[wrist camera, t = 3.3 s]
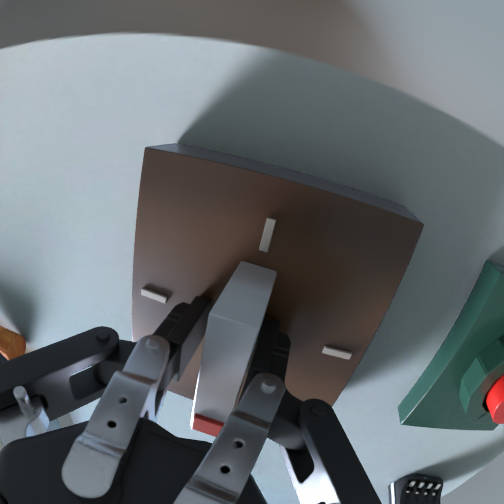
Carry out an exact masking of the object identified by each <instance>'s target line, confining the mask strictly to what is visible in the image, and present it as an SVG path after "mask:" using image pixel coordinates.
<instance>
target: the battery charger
mask: <svg viewBox="0 0 504 504" xmlns="http://www.w3.org/2000/svg"><path fill="white" fill-rule="evenodd" d="M442 488H443V479H441V478H438V477H431V476H423V475H408V476H405V477H403V478H401V479H399V480H397V481H394V482H392V483H391V484H390V485H389V487H388V489H389V504H440V497H441V492H442Z"/></svg>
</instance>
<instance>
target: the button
mask: <svg viewBox="0 0 504 504" xmlns="http://www.w3.org/2000/svg"><path fill="white" fill-rule="evenodd" d="M485 401H486V404H487V406H488V409H489V411H490V414H491V416H492V419H493V421H494V422H495V423H497V424H503V423H504V375H502V376H501V377H500V378H498V379H497V380H496V381H495V382H494V384H493V385H492V386H491V388H490V389H489V390H488V391H487V393H486V396H485Z"/></svg>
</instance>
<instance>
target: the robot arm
mask: <svg viewBox="0 0 504 504" xmlns="http://www.w3.org/2000/svg"><path fill="white" fill-rule="evenodd" d="M211 303H212V301H211V300H209V299H206V298H203V297H200V296H196V297H195V298H194V299H193V301H192V302H191V304H188V303H185V302H182V303H180V304H178V305H176V306H175V307H174V308H173V309H172V310H171V312H170V313H169V314H168V315H167V317H166V318H165V319H164V320H163V322H162V323H161V324H160V325H159V327H158V328H157V329H156V331H155V332H154V333H153V334H152V335H146V336H143V337H141V338H140V339H139V340H138V342H131V341H125V340H119V336H118V333H117V332H116V331H115V330H113V329H112V328H109V327H103V326H102V327H96V328H93V329H90V330H88V331H85V332H83V333H80V334H77V335H75V336H72V337H69V338H67V339H64V340H62V341H59V342H56V343H54V344H51V345H48V346H46V347H43V348H40V349H38V350H35V351H32V352H30V353H27V354H24V355H21V356H19V357H16V358H13V359H11V360H8V361H5V362H2V363H0V440H1V443H2V445H3V447H4V448H3V449H2V450H1V452H0V504H267V502H266V500H265V499H264V497H263V495H262V493H261V491H260V489H259V488H258V486H257V484H256V482H255V480H254V478H253V477H252V475H251V471H252V469H253V467H254V465H255V463H256V461H257V458H258V456H259V454H260V452H261V450H262V447H263V445H264V443H265V440H266V438H269V439H271V440H273V441H274V442H276V443H278V444H279V447H280V450H281V453H282V456H283V458H284V461H285V464H286V467H287V469H288V472H289V475H290V478H291V480H292V483H293V486H294V488H295V491H296V494H297V496H298V499H299V502H300V504H382V503H381V501H380V499H379V497H378V496H377V494H376V492H375V490H374V488H373V486H372V484H371V482H370V480H369V478H368V476H367V474H366V472H365V470H364V468H363V467H362V465H361V463H360V461H359V459H358V457H357V455H356V453H355V451H354V449H353V447H352V445H351V443H350V441H349V439H348V438H347V436H346V434H345V432H344V430H343V428H342V426H341V424H340V422H339V420H338V418H337V416H336V414H335V412H334V410H333V409H332V407H331V406H330V405H329V404H328V403H327V402H325V401H323V400H320V399H315V398H312V399H308V400H305V401H302V400H300V399H298V398H296V397H294V396H293V395H292V394H291V393H290V392H289V391H288V390H287V388H286V386H285V376H286V370H287V365H288V359H289V353H290V347H291V341H290V339H289V336H288V335H287V334H283V333H280V332H278V329H279V325H280V321H276V320H273V319H270V318H266V317H265V320H264V324H263V327H262V330H261V333H260V336H259V340H258V343H257V346H256V349H255V352H254V355H253V359H252V362H251V365H250V368H249V371H248V374H247V377H246V380H245V383H244V387H243V390H242V393H241V396H240V399H239V402H238V405H237V407H236V408H235V410H234V411H232V412H231V413H230V415H229V417H228V418H227V420H226V422H225V424H224V425H223V427H222V429H221V430H220V432H219V434H218V435H217V437H216V439H215V440H214V442H213V444H212V443H209V442H206V441H199V440H192V439H185V438H179V437H176V436H174V435H173V434H171V433H170V432H168V431H167V430H165V429H164V428H162V427H161V426H159V425H158V424H157V423H156V421H157V418H158V415H159V412H160V410H161V407H162V404H163V401H164V398H165V395H166V392H167V387H168V385H169V383H170V382H171V380H173V381H176V382H179V380H180V378H181V376H182V375H183V373H184V371H185V369H186V367H187V366H188V364H189V362H190V360H191V358H192V357H193V355H194V353H195V351H196V350H197V348H198V346H199V344H200V342H201V341H202V339H203V337H204V335H205V332H206V328H207V322H208V317H209V313H210V309H211ZM89 366H92V367H91V368H88V369H86V370H84V371H81V372H79V373H77V374H75V375H72V374H73V373H75V372H78V371H80V370H82V369H85V368H87V367H89ZM71 375H72V376H71ZM100 397H101V399H100V400H99V402H98V404H97V406H96V408H95V410H94V412H93V414H92V416H91V418H90V420H89V421H85V422H82V423H79V424H75V425H72V426H68V427H65V428H61V429H57V430H53V431H50V432H46V433H45V430H46V429H47V427H48V424H49V422H50V421H52V420H54V419H56V418H58V417H61V416H63V415H65V414H67V413H69V412H71V411H73V410H76V409H78V408H80V407H82V406H84V405H86V404H88V403H90V402H92V401H94V400H96V399H98V398H100Z"/></svg>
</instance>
